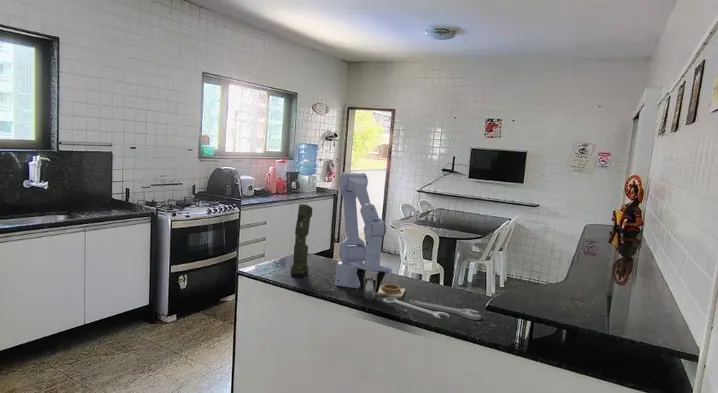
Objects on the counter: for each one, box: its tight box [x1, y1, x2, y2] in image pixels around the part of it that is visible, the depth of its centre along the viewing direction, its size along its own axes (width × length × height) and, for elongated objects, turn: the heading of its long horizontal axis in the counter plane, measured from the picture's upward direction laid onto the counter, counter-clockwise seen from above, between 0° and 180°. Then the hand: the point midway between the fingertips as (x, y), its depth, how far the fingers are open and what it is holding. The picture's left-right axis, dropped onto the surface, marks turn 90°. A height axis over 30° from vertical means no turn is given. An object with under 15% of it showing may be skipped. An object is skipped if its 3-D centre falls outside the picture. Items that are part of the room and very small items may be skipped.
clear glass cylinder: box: [363, 276, 377, 301], centre depth 166 cm, size 4×4×8 cm
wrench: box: [383, 297, 450, 320], centre depth 159 cm, size 25×2×5 cm
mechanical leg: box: [290, 203, 313, 279], centre depth 189 cm, size 14×7×30 cm, turn 179°
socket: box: [375, 283, 406, 300], centre depth 174 cm, size 10×10×2 cm
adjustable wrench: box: [408, 299, 482, 321], centre depth 161 cm, size 25×6×2 cm, turn 62°
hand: (369, 290), depth 166 cm, fingers open, 5 cm apart
